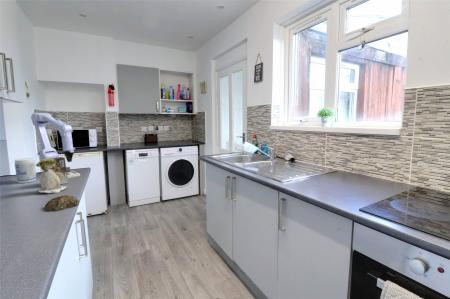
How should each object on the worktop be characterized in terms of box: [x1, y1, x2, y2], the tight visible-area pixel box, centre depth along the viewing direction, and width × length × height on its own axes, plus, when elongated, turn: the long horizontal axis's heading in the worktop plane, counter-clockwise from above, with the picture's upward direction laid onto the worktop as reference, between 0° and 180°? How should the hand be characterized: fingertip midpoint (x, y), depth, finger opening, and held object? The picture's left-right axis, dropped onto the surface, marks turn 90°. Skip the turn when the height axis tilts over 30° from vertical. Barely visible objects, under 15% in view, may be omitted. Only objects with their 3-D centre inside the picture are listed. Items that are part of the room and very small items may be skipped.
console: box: [67, 169, 81, 179], centre depth 158 cm, size 16×13×4 cm
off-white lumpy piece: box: [35, 158, 67, 194], centre depth 124 cm, size 12×13×18 cm
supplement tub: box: [14, 157, 38, 184], centre depth 145 cm, size 10×10×15 cm
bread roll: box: [44, 194, 80, 212], centre depth 104 cm, size 13×12×5 cm
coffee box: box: [51, 156, 69, 186], centre depth 138 cm, size 9×6×16 cm
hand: (69, 161), depth 158 cm, fingers closed
